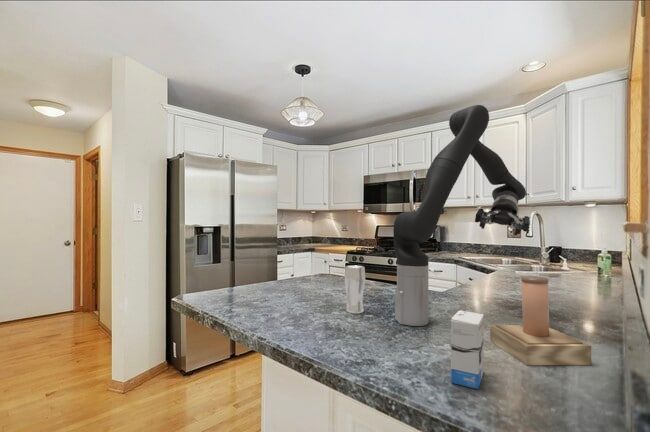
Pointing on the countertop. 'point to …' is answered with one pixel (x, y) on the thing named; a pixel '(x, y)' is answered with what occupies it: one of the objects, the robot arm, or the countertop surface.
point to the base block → (540, 346)
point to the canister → (535, 305)
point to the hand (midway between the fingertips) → (499, 229)
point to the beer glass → (354, 288)
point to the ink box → (467, 349)
